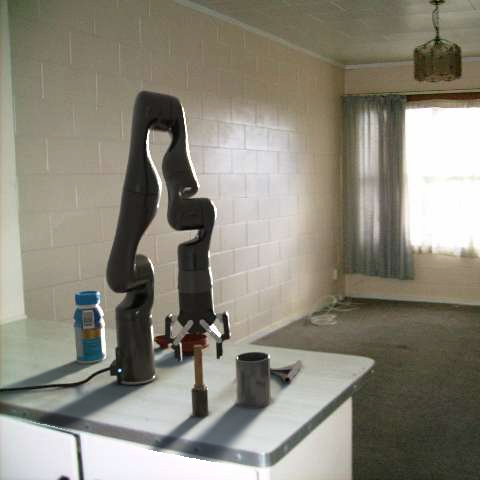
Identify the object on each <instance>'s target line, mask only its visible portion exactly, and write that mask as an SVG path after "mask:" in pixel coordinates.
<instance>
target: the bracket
mask: <svg viewBox="0 0 480 480" xmlns="http://www.w3.org/2000/svg"><path fill="white" fill-rule="evenodd" d="M302 365H303V361H302V360H297V361H296V362H295V363H293V364H290V365H286V366H281V367H270V375H276V376H278V377H280V378H281V379H282V381H284V383H285V384H290V383H291V381H292V380H293V379H294V377H295V375H296V374H297V373H298V371H299V370H300V368H301V367H302Z"/></svg>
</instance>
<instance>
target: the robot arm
mask: <svg viewBox="0 0 480 480" xmlns="http://www.w3.org/2000/svg"><path fill="white" fill-rule="evenodd" d="M150 132H158V133H165V134H166V133H167V134H168V135H169V137H170V143H169V144H168V146H167V149H166V151H165V153H164V154H163V157H162V161H161V172H162V176H163V179H164V183H165V186H166V191H167V209H166V220H167V223H168V225H169V227H170V228H171V229H173V230H174V231H175V232H176V231H177V232H187V231H197V233H196V234H195V236H194V237H193V238H191V239H188V240H185V241H183V242H181V243H179V244H178V245H177V249H176V250H177V251H176V253H177V254H176V255H177V268H178V270H177V271H178V272H177V291H178V309H179V310H178V311H179V313H178V315H172V314H171V313H168V314H166V316H165V318H164V335H165V342H166V343H170V344H171V345H172V344H173V345H174V351H173V352H174V358H175V360H177V362H182V361H183V354H182V345H181V343H180V341H181V340H182V338H183V337H184V336H185V334H189V333H190V334H196V333H200V334H205V335H206V333H208V334H209V336H210V337H212V339H214V340H215V351H216V352H215V353H216V360H220V359H221V357H223V354H224V342H225V341H228V340H230V339H231V326H230V325H231V324H230V317H229V312H228V311H226V310H225V311H222V312H219V313H216V312H215V311H216V310H215V305H214V289H213V288H214V284H213V274H212V267H211V244H212V237H213V232H214V229H215V224H216V220H217V208H216V206H215V203H214V201H213V200H212V199H210V198H208V197H194V196H196V195H197V194H198V192H199V190H200V184H199V181H198V177H197V174H196V170H195V168H194V164H193V161H192V158H191V153H190V147H189V137H188V131H187V124H186V117H185V111H184V106H183V104H182V102H181V100H180V98H179V97H177V96H174V95H172V94H168V93H161V92H156V91H151V90H140V91H138V93H137V95H136V97H135V100H134V101H133V108H132V116H131V128H130V138H129V139H130V140H129V151H128V157H127V164H126V170H125V175H124V180H123V185H122V192H121V197H120V204H119V212H118V213H119V214H118V217H117V223H116V228H115V234H114V236H113V237H114V238H113V241H112V242H113V243H112V245H111V249H110V253H109V257H108V260H107V263H106V269H105V279H106V283H107V286H108V288H109V289H110V291H112V292H113V293H115V294H125V296H124V298H123V299H122V300H121V301H120V302H119V303H118V304H117V305H116V306H115V309H114V316H115V331H116V332H115V333H116V347H115V348H114V353H115V358H114V359H113V361H112V362H111V363H110V364H109V366H107V367H104V368H102V369H100V370H96V371H95V372H93V373H91V374H90V375H89V376H88V377H86V378H85V379H82V380H80V381H76V382H69V383H68V382H67V383H50V384H40V385H29V386H17V387H3V388H0V393H8V392H9V393H10V392H23V391H33V390H45V389H52V388H69V387H71V388H72V387H77V386H81V385H84V384H87V383H88V382H91V380H92V379H93V378H95V377H96V376H98V375H101V374H104V373H105V372H109V376H110V377H116V384H117V385H124V386H140V385H145V384H148V383H151V382H154V381H155V379H156V378H157V375H156V364H155V363H156V362H155V347H154V346H155V345H154V342H155V341H154V339H153V338H154V326H153V308H154V305H155V270H154V266H153V263H152V261H151V260H150V258H149V257H148V256H147V255H145V254H142V253H137V252H138V248H139V245H140V242H141V240H142V238H143V236H144V235H145V233H146V232H147V230H148V229H149V227H150V226H151V225H152V222H153V221H154V219H155V218H156V216H157V214H158V211H159V207H160V203H161V197H162V196H161V195H162V190H163V185H162V181H161V178H160V175H159V172H158V170H157V168H156V166H155V163H154V162H153V158H152V156H151V153H150V147H149V134H150ZM216 320H218V321H219V323H220V324H222V326H223V333H222V334H221V333H220V332H219V331H218V329H217V327H216V326H215V325H214V323H215V322H216ZM176 322H178V323H179V324H180V326H181V327H182V328H181V330H180V331H179V332H178V334H177V335H176V336H177V337H176V336H174V335H173V326H174V325H175V324H176ZM172 335H173V336H174V337H173V336H172Z"/></svg>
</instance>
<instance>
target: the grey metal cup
mask: <svg viewBox="0 0 480 480" xmlns="http://www.w3.org/2000/svg"><path fill="white" fill-rule="evenodd" d="M234 361H235V385H236V404H237V406H239V407H241V408H244V409H245V408H246V409H258V408H263V407H266V406H268V405H270V404H271V402H272V388H271V385H272V384H271V374H270V368H271V355H270V354H269V353H266V352H264V351H263V352H262V351H249V352H243V353H240V354H238V355H236V356H235V360H234Z"/></svg>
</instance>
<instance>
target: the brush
mask: <svg viewBox="0 0 480 480" xmlns="http://www.w3.org/2000/svg"><path fill="white" fill-rule="evenodd" d="M193 347H194V354H193V365H194V384H193V387H192V388H191V390H190V391H191V410H192V412H191V413H192V416H193V417H194V418H204V417H207V416H209V414H210V413H209V409H210V408H209V391H208V390H209V389H208V387H207V386H206V384H205V383H204V368H203V366H204V365H203V349H202V345H194V346H193Z"/></svg>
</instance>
